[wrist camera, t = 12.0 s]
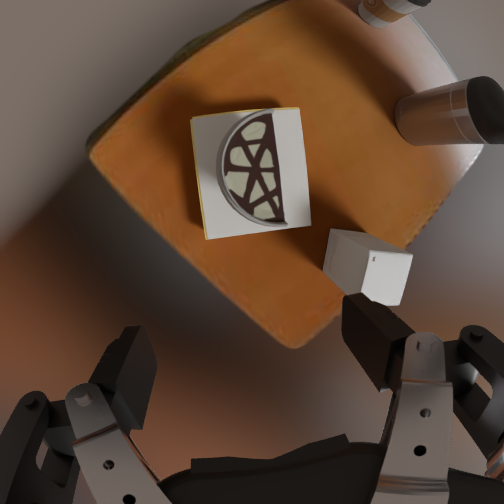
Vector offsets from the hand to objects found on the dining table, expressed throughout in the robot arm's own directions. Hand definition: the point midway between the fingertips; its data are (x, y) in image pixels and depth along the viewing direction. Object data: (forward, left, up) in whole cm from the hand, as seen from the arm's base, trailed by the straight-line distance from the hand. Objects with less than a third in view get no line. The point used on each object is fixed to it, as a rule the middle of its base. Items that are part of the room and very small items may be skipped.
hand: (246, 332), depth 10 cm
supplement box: (-18, +8, -30) cm, 36 cm away
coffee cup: (-30, -36, -30) cm, 56 cm away
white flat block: (-4, -6, -30) cm, 31 cm away
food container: (-2, -6, -26) cm, 27 cm away
